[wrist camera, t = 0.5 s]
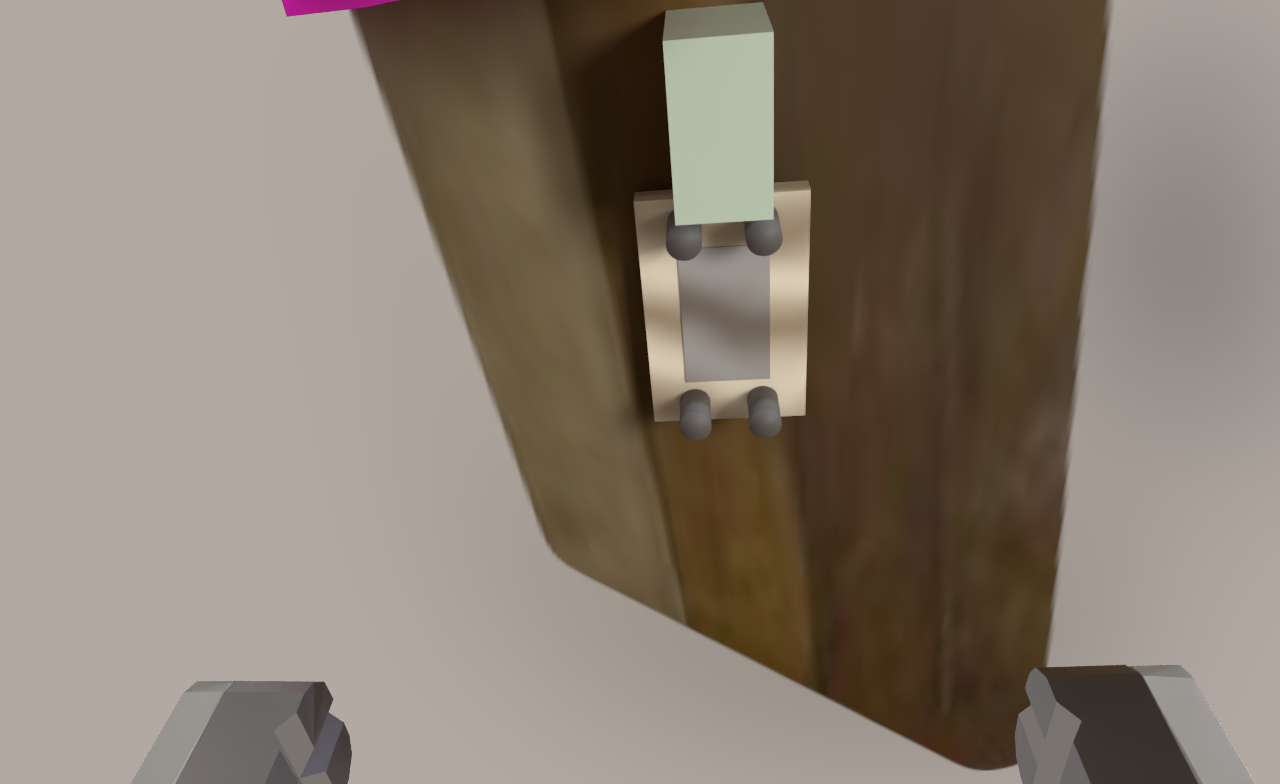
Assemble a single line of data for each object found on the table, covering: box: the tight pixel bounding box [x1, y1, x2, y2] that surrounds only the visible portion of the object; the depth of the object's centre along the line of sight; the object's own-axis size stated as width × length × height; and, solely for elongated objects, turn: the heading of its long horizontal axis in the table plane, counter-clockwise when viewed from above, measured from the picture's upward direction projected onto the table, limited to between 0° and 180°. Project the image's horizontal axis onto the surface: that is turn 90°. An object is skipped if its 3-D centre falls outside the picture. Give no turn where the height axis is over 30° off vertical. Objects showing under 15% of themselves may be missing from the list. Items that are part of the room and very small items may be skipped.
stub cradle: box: [634, 180, 811, 440], centre depth 53 cm, size 16×10×4 cm, turn 5°
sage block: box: [663, 2, 774, 226], centre depth 44 cm, size 9×5×7 cm, turn 5°
